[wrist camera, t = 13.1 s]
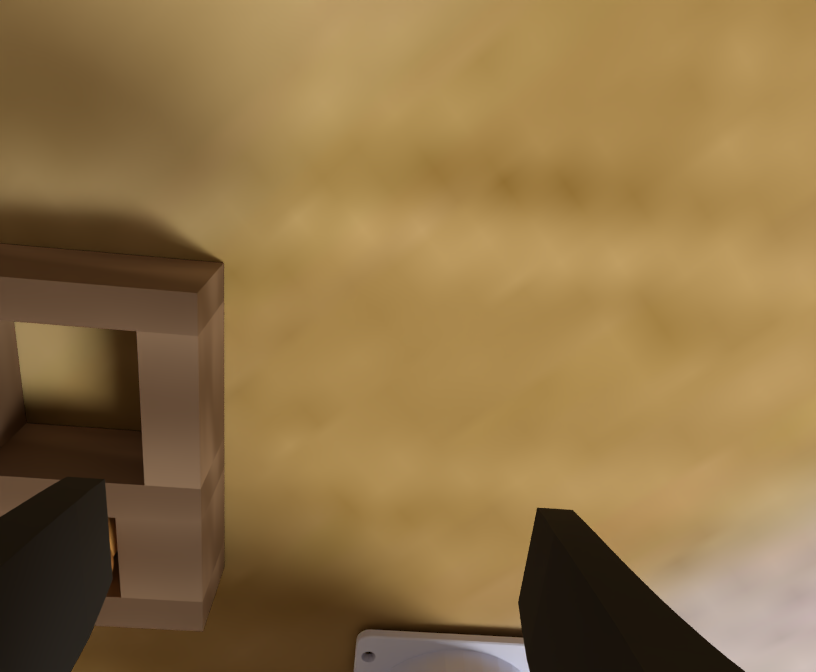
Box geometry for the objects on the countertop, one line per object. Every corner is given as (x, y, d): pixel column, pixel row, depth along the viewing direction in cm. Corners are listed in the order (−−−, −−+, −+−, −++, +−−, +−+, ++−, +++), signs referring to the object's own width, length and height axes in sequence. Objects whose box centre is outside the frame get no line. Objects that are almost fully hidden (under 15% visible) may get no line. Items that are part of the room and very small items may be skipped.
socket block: (224, 567, 24) (202, 631, 21) (-4, 553, 24) (-57, 617, 21) (223, 262, 20) (197, 293, 17) (-52, 239, 20) (-126, 266, 17)
